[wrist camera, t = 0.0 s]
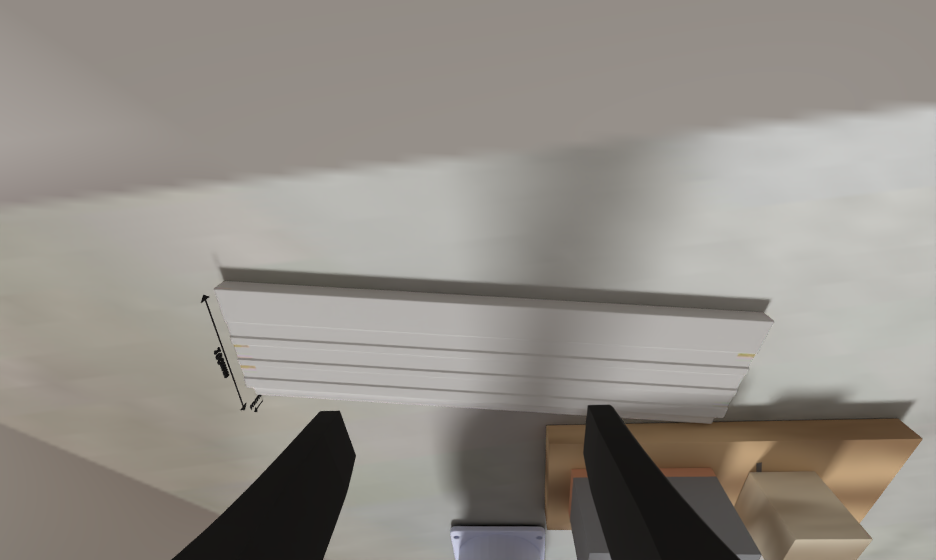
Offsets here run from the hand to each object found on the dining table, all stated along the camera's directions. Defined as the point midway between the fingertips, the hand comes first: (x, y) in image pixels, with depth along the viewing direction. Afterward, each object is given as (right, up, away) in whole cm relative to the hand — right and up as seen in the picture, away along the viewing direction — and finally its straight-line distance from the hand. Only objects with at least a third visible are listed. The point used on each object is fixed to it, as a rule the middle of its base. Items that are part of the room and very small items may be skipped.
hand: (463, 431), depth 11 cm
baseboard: (+1, 0, +13) cm, 13 cm away
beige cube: (+21, -10, +14) cm, 27 cm away
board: (+17, -9, +16) cm, 25 cm away
